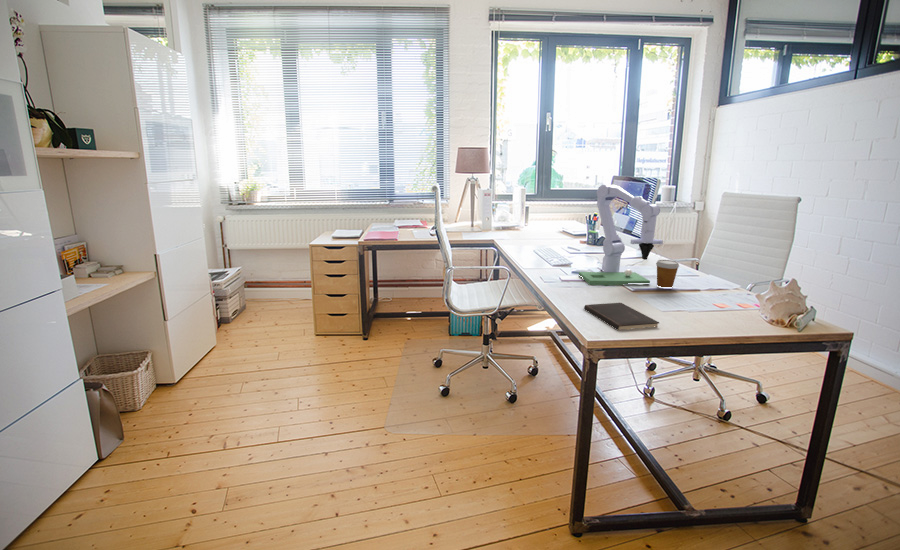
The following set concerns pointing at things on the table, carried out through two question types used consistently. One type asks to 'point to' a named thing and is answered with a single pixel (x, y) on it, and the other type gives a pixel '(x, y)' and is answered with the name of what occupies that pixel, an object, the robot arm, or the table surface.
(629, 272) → the ball
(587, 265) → the table surface
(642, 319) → the hardcover book
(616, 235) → the robot arm
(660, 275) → the disposable coffee cup
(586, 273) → the putting mat
